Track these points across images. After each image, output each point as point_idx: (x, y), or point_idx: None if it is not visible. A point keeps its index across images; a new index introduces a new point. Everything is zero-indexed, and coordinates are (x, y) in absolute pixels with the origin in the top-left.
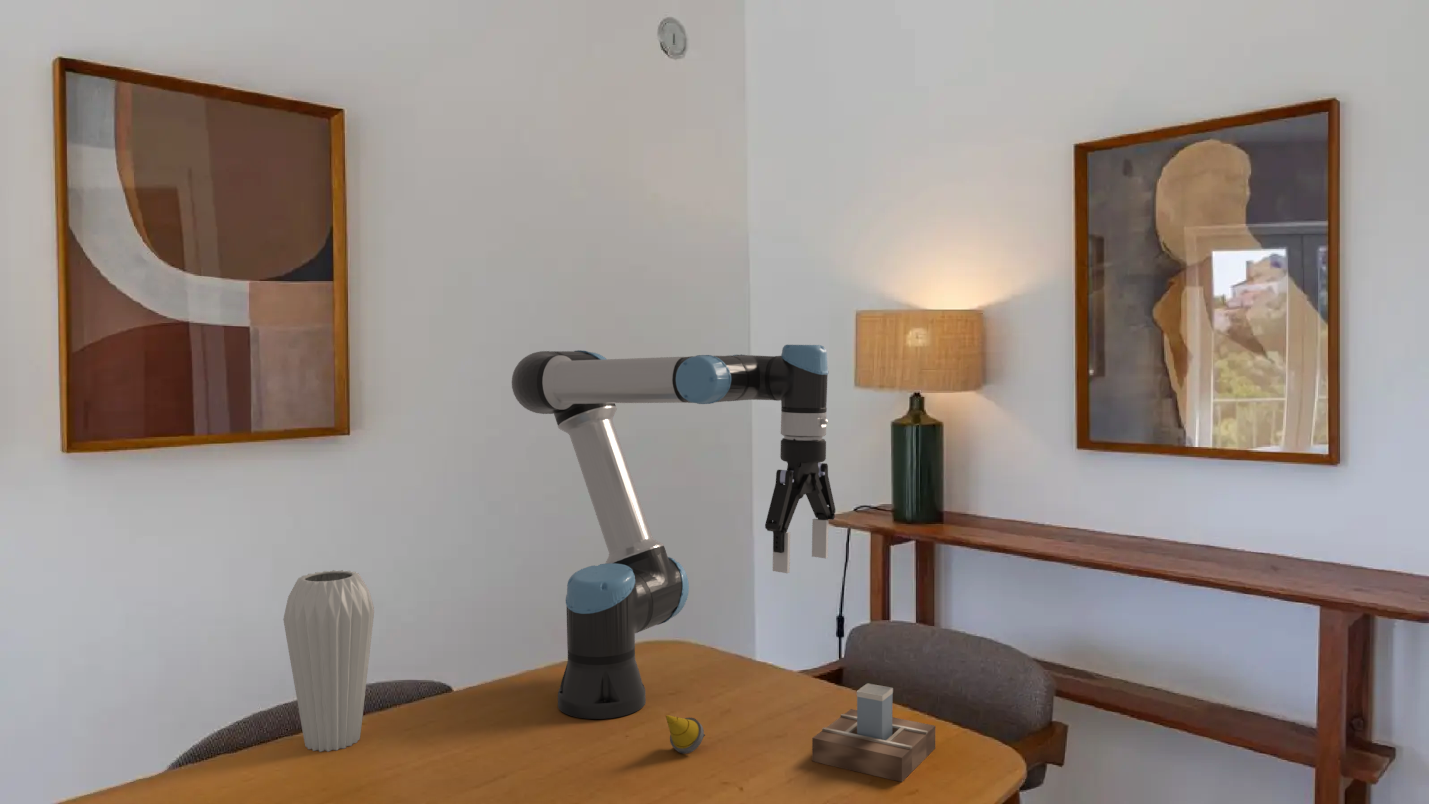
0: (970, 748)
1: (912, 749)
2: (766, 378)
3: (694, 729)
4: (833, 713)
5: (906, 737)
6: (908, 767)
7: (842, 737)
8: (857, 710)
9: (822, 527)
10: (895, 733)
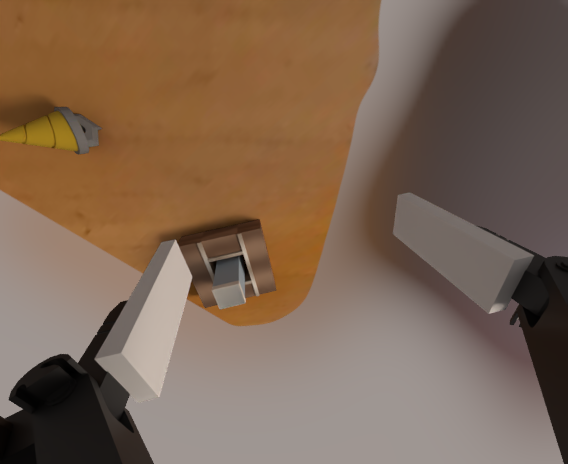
0: (290, 291)
1: None
2: None
3: (68, 148)
4: (284, 182)
5: None
6: None
7: (199, 262)
8: (214, 278)
9: (468, 278)
10: None
